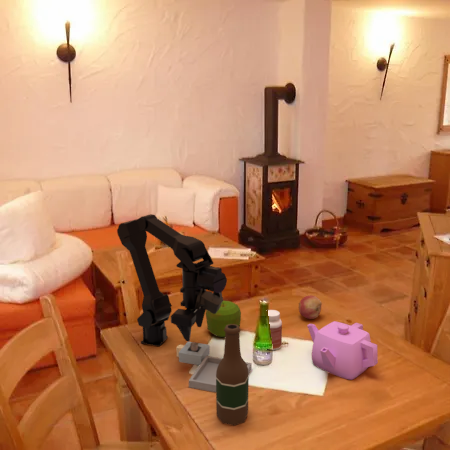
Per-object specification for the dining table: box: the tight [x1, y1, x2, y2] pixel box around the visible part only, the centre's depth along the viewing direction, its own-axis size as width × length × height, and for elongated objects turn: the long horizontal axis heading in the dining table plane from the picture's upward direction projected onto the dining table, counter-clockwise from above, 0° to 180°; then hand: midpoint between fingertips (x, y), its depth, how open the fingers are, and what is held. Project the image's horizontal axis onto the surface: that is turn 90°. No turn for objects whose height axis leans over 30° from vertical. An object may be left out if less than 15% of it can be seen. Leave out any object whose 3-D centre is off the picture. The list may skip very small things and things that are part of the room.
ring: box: [176, 341, 211, 366], centre depth 152 cm, size 9×7×3 cm
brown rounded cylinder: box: [191, 341, 199, 352], centre depth 152 cm, size 2×2×4 cm
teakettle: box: [306, 320, 379, 381], centre depth 146 cm, size 17×17×12 cm
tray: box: [188, 355, 253, 393], centre depth 141 cm, size 14×14×2 cm
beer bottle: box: [215, 324, 250, 426], centre depth 122 cm, size 8×8×24 cm
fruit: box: [298, 294, 323, 320], centre depth 176 cm, size 8×8×8 cm
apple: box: [205, 300, 242, 338], centre depth 166 cm, size 11×11×11 cm
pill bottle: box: [267, 309, 283, 351], centre depth 157 cm, size 6×6×11 cm
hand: (193, 333), depth 150 cm, fingers open, 9 cm apart
